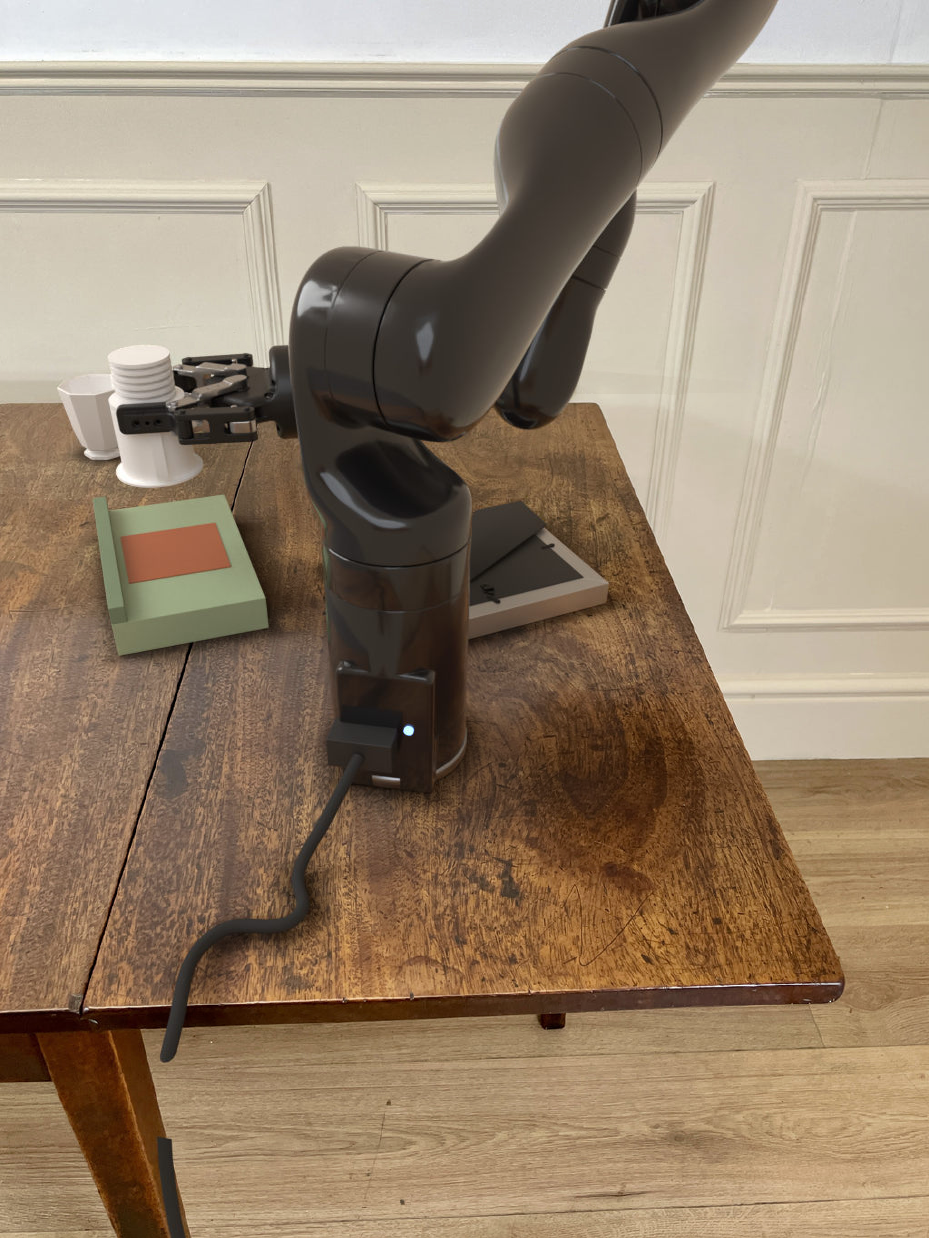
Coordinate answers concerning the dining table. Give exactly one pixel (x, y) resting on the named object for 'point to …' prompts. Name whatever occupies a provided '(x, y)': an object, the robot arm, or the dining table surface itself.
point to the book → (176, 574)
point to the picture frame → (524, 572)
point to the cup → (91, 413)
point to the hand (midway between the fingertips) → (123, 402)
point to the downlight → (152, 454)
